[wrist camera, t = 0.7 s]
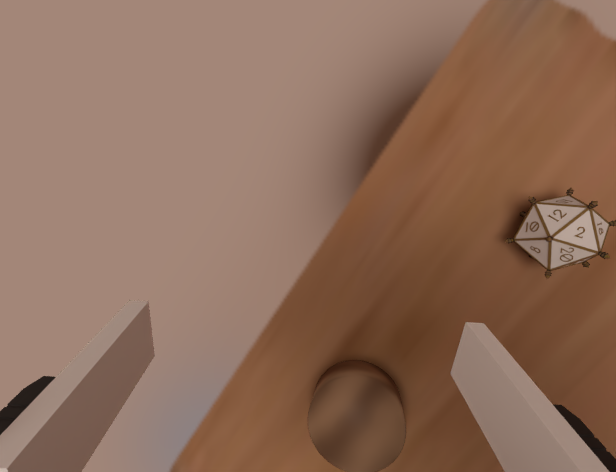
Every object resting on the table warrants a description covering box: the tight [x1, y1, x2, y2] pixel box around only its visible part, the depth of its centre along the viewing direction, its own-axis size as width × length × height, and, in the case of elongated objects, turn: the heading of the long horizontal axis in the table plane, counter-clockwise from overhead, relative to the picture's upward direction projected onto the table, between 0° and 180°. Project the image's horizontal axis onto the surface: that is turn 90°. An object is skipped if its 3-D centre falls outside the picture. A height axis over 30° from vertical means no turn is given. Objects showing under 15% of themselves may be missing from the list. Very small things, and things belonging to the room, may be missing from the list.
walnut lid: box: [308, 360, 406, 472], centre depth 39 cm, size 11×11×5 cm
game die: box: [504, 188, 616, 278], centre depth 33 cm, size 9×8×10 cm
